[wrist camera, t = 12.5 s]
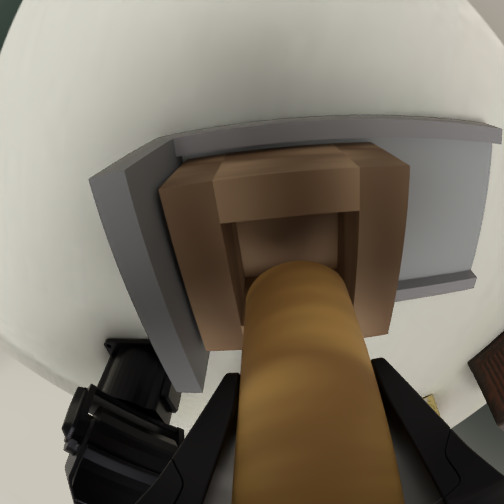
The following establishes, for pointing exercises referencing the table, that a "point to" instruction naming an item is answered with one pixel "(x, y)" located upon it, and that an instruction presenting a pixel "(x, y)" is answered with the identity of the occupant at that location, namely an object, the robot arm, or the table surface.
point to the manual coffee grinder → (491, 376)
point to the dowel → (309, 397)
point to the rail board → (283, 135)
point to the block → (287, 227)
